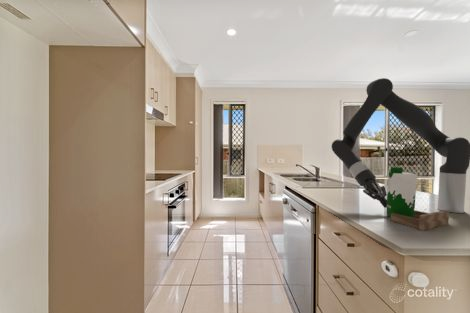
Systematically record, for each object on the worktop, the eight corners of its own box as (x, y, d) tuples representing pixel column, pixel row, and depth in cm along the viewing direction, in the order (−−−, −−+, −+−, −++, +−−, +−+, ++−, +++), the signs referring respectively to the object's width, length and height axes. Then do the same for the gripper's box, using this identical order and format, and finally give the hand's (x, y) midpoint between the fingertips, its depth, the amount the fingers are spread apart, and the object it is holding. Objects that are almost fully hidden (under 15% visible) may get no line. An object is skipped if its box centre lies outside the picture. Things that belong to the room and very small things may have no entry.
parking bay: (413, 216, 104) (414, 204, 104) (448, 224, 94) (449, 210, 93) (387, 221, 95) (388, 208, 95) (422, 230, 85) (423, 216, 85)
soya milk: (383, 213, 106) (386, 166, 105) (408, 216, 103) (411, 167, 102) (390, 219, 97) (393, 168, 96) (417, 222, 95) (421, 169, 94)
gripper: (358, 168, 109) (384, 202, 99) (376, 168, 115) (403, 200, 105) (346, 179, 114) (371, 213, 104) (365, 178, 120) (390, 209, 110)
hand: (387, 206), depth 104 cm, fingers closed
